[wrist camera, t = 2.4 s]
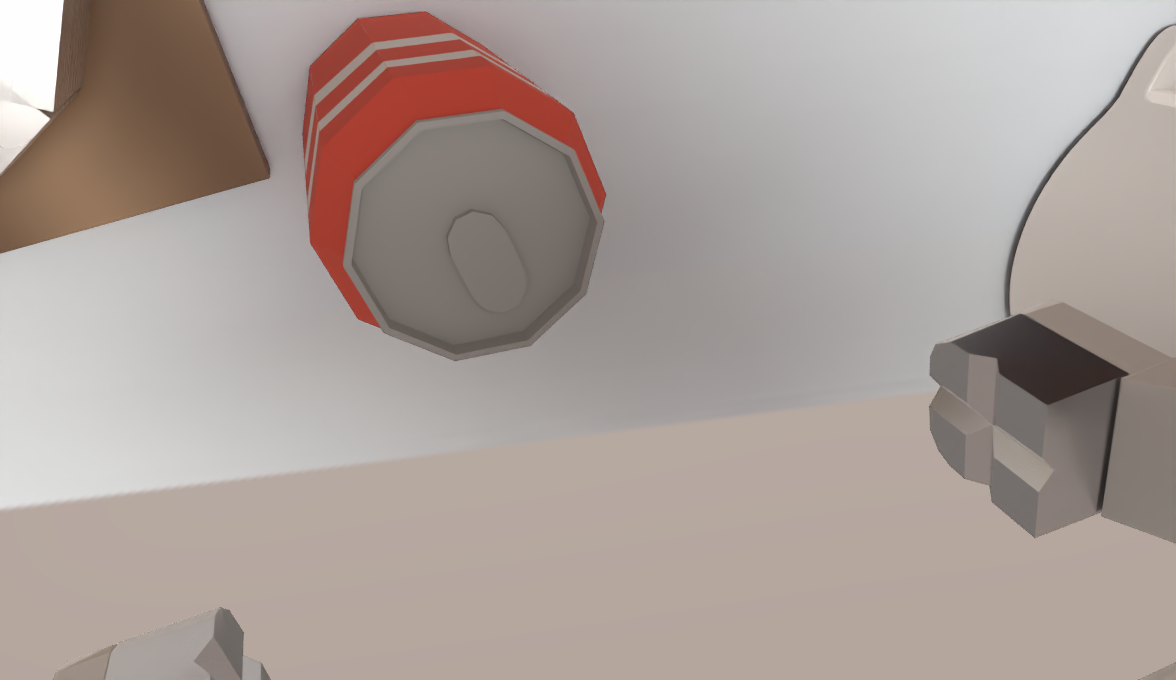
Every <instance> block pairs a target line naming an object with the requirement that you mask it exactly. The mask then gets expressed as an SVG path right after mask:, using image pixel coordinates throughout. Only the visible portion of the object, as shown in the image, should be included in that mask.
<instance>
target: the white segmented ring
mask: <svg viewBox="0 0 1176 680" xmlns="http://www.w3.org/2000/svg"><path fill="white" fill-rule="evenodd" d="M90 8H91V0H0V176H2V175H3V174H4V173H5V172H6V171H7V170H8V169H9V168H10V167H11V166H12V165H13V164H14V163H15V162H16V161H17V160H18V159H19V158H20V157H21V156H22V155H23V153H24V152H25V151H26V150H27V149H28V148H29V147H30V146H31V145H32V143H33V142H34V141H35V140H36V139H37V138H38V137H39V136H40V135H41V134H42V132H43V131H44V130H45V129H46V128H47V127H48V126H49V125H50V124H51V122H52V121H53V120H54V119H55V118H56V117H57V116H58V115H59V114H60V113H61V111H62V110H63V109H64V108H65V107H66V106H67V105H68V104H69V103H70V101H71V100H72V99H73V98H74V97H75V96H76V95H77V94H78V93H79V92H80V90H79V88H80V87H81V86H82V85H83V78H84V68H85V58H86V48H87V38H88V28H89V18H90Z"/></svg>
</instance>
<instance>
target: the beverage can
mask: <svg viewBox="0 0 1176 680" xmlns="http://www.w3.org/2000/svg"><path fill="white" fill-rule="evenodd" d="M302 134H303V148H304V162H305V176H306V190H307V204H308V218H309V232H310V243H311V245H312V247H313V248H314V250H315V251H316V253H317V255H318V256H319V258H320V259H321V261H322V263H323V264H324V266H325V267H326V269H327V271H328V272H329V274H330V275H331V277H332V278H333V280H334V282H335V283H336V285H337V286H338V288H339V290H340V291H341V293H342V294H343V296H344V298H345V299H346V301H347V302H348V304H349V306H350V307H351V309H352V310H353V312H354V314H355V315H356V317H357V318H358V319H359V320H361V321H364V322H366V323H369V324H371V325H374V326H377V327H379V328H381V329H382V330H383V332H384V333H385V334H388V335H390V336H393V337H396V338H398V339H401V340H403V341H406V342H408V343H411V344H413V345H416V346H418V347H421V348H423V349H426V350H428V351H431V352H434V353H436V354H439V355H441V356H444V357H446V358H449V359H451V360H454V361H458V360H463V359H468V358H473V357H478V356H483V355H488V354H492V353H497V352H502V351H507V350H512V349H517V348H522V347H527V346H531V345H532V344H533V343H534V342H535V341H536V340H537V339H538V338H539V337H540V336H541V335H543V334H544V333H545V332H546V331H547V330H548V329H549V328H550V327H551V326H552V325H553V324H554V323H555V322H557V321H558V320H559V319H560V318H561V317H562V316H563V315H564V314H565V313H566V312H567V311H568V310H569V309H571V308H572V307H573V306H574V305H575V304H576V303H577V302H578V301H579V300H580V299H581V298H582V297H583V296H584V295H586V292H587V288H588V284H589V280H590V276H591V272H592V268H593V264H594V260H595V256H596V252H597V248H598V244H599V241H600V237H601V233H602V229H603V225H604V220H603V217H602V215H601V213H602V209H603V205H604V201H605V197H606V193H605V190H604V188H603V185H602V183H601V180H600V178H599V175H598V173H597V170H596V168H595V165H594V163H593V160H592V158H591V155H590V153H589V150H588V148H587V145H586V143H585V140H584V138H583V135H582V133H581V130H580V128H579V125H578V123H577V120H576V118H575V115H574V113H573V112H571V111H570V110H569V109H567V108H566V107H565V106H563V105H562V104H561V103H559V102H558V101H557V100H555V99H554V98H553V97H551V96H550V95H549V94H547V93H546V92H545V91H543V90H542V89H541V88H539V87H538V86H536V85H535V84H534V83H532V82H531V81H530V80H528V79H527V78H526V77H524V76H523V75H522V74H520V73H519V72H518V71H516V70H515V69H514V68H512V67H511V66H510V65H508V64H507V63H506V62H504V61H503V60H502V59H500V58H499V57H498V56H496V55H495V54H493V53H492V52H491V51H489V50H488V49H487V48H485V47H484V46H483V45H481V44H479V43H477V42H476V41H474V40H472V39H471V38H469V37H467V36H466V35H464V34H462V33H461V32H459V31H457V30H456V29H454V28H452V27H451V26H449V25H447V24H446V23H444V22H442V21H441V20H439V19H437V18H436V17H434V16H432V15H431V14H429V13H427V12H417V13H408V14H399V15H389V16H380V17H371V18H361V19H357V20H356V21H355V22H354V23H353V24H352V25H351V26H350V27H349V28H348V29H347V30H346V31H345V32H344V33H343V34H342V35H341V36H340V37H339V38H338V39H337V40H336V41H335V42H334V43H333V44H332V45H331V46H330V47H329V48H328V49H327V50H326V51H325V52H324V53H323V54H322V55H321V56H320V57H319V58H318V59H317V60H316V61H315V62H314V63H313V64H312V65H311V66H310V69H309V79H308V88H307V97H306V106H305V115H304V124H303V133H302Z"/></svg>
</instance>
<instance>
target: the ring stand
mask: <svg viewBox="0 0 1176 680" xmlns="http://www.w3.org/2000/svg"><path fill="white" fill-rule="evenodd" d="M79 90H80V92H79V93H78V94H77V95H76V96H75V97H74V98H73V99H72V100H71V101H70V103H69V104H68V105H67V106H66V107H65V108H64V109H63V110H62V111H61V113H60V114H59V115H58V116H57V117H56V118H55V119H54V120H53V121H52V122H51V124H50V125H49V126H48V127H47V128H46V129H45V130H44V131H43V132H42V134H41V135H40V136H39V137H38V138H37V139H36V140H35V141H34V142H33V143H32V145H31V146H30V147H29V148H28V149H27V150H26V151H25V152H24V153H23V155H22V156H21V157H20V158H19V159H18V160H17V161H16V162H15V163H14V164H13V165H12V166H11V167H10V168H9V169H8V170H7V171H6V172H5V173H4V174H3V175H2V176H0V253H4V252H7V251H11V250H15V249H18V248H22V247H25V246H29V245H32V244H36V243H40V242H43V241H47V240H50V239H54V238H57V237H61V236H65V235H68V234H72V233H75V232H79V231H82V230H86V229H90V228H93V227H97V226H100V225H104V224H107V223H111V222H115V221H118V220H122V219H125V218H129V217H132V216H136V215H140V214H143V213H147V212H150V211H154V210H157V209H161V208H165V207H168V206H172V205H175V204H179V203H182V202H186V201H189V200H193V199H197V198H200V197H204V196H207V195H211V194H214V193H218V192H222V191H225V190H229V189H232V188H236V187H239V186H243V185H247V184H250V183H254V182H257V181H261V180H264V179H268V178H269V177H270V168H269V165H268V163H267V160H266V158H265V155H264V153H263V150H262V148H261V145H260V143H259V140H258V138H257V135H256V133H255V130H254V128H253V125H252V123H251V120H250V118H249V115H248V113H247V110H246V108H245V105H244V102H243V100H242V97H241V95H240V92H239V90H238V87H237V85H236V82H235V80H234V77H233V75H232V72H231V70H230V67H229V65H228V62H227V60H226V57H225V55H224V52H223V50H222V47H221V45H220V42H219V39H218V37H217V34H216V32H215V29H214V27H213V24H212V22H211V19H210V17H209V14H208V12H207V9H206V7H205V4H204V2H203V0H91V8H90V18H89V28H88V38H87V48H86V58H85V68H84V78H83V85H82V86H81V87H80V88H79Z"/></svg>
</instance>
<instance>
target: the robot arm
mask: <svg viewBox="0 0 1176 680" xmlns="http://www.w3.org/2000/svg"><path fill="white" fill-rule="evenodd" d="M1010 313H1011V315H1010V316H1009V317H1008V318H1004V319H1002V320H999V321H996V322H994V323H991V324H988V325H986V326H983V327H980V328H978V329H975V330H972V331H970V332H967V333H964V334H962V335H959V336H956V337H954V338H951V339H948V340H946V341H943V342H940V343H938V344H936V345H935V347H934V349H933V351H932V354H931V356H930V376H931V377H932V378H933V379H934V380H935V381H936V382H937V383H938V384H939V385H940V386H941V387H940V389H939V390H938V392H937V394H936V396H935V398H934V399H933V401H932V403H931V405H930V406H929V410H930V430H931V433H932V435H933V438H934V440H935V443H936V445H937V448H938V450H939V452H940V453H941V455H942V456H943V457H944V459H945V460H946V461H947V463H948V464H949V465H950V466H951V467H952V468H953V469H954V470H955V471H956V472H957V473H959V474H960V475H961V476H962V477H963V478H964V479H967V480H971V481H975V482H979V483H982V484H986V485H989V486H990V493H991V500H992V503H994V504H995V505H996V506H997V507H998V508H1000V509H1001V510H1002V511H1003V512H1004V513H1006V514H1007V515H1008V516H1009V517H1011V519H1013V520H1014V521H1015V522H1016V523H1017V524H1019V525H1020V526H1021V527H1022V528H1023V529H1025V530H1026V531H1027V532H1028V533H1029V534H1031V535H1032V536H1033V537H1034V538H1036V537H1039V536H1041V535H1044V534H1047V533H1049V532H1052V531H1054V530H1057V529H1059V528H1062V527H1064V526H1067V525H1069V524H1072V523H1075V522H1077V521H1080V520H1082V519H1085V518H1088V517H1090V516H1093V515H1095V514H1098V513H1100V512H1102V514H1101V516H1102V517H1105V518H1108V519H1111V520H1113V521H1116V522H1119V523H1121V524H1124V525H1127V526H1129V527H1132V528H1135V529H1138V530H1140V531H1143V532H1146V533H1149V534H1151V535H1154V536H1157V537H1160V538H1163V539H1165V540H1168V541H1171V542H1173V543H1176V25H1173V26H1171V27H1169V28H1167V29H1165V30H1164V31H1162V32H1161V33H1160V34H1159V35H1158V36H1157V37H1156V38H1155V39H1154V41H1153V42H1152V43H1151V44H1150V46H1149V47H1148V49H1147V50H1146V51H1145V53H1144V55H1143V56H1142V58H1141V59H1140V61H1139V63H1138V64H1137V66H1136V68H1135V70H1134V71H1133V73H1132V75H1131V77H1130V78H1129V80H1128V82H1127V84H1126V86H1125V87H1124V89H1123V91H1122V93H1121V95H1120V97H1119V98H1118V99H1117V101H1116V102H1115V103H1114V104H1113V106H1112V107H1111V108H1110V109H1109V110H1108V111H1107V113H1106V114H1105V115H1104V116H1103V117H1102V118H1101V119H1100V120H1099V121H1098V122H1097V123H1096V124H1095V125H1094V126H1093V127H1092V128H1091V129H1090V130H1089V131H1088V132H1087V133H1086V134H1085V135H1084V136H1083V137H1082V138H1081V139H1080V141H1079V142H1078V143H1077V144H1076V145H1075V146H1074V147H1073V148H1072V150H1071V151H1070V152H1069V153H1068V154H1067V156H1066V157H1065V158H1064V159H1063V161H1062V162H1061V163H1060V165H1059V166H1058V167H1057V169H1056V170H1055V172H1054V173H1053V175H1052V176H1051V178H1050V179H1049V181H1048V182H1047V184H1046V185H1045V187H1044V189H1043V190H1042V192H1041V194H1040V196H1039V197H1038V199H1037V201H1036V203H1035V205H1034V207H1033V209H1032V211H1031V213H1030V215H1029V217H1028V220H1027V222H1026V224H1025V227H1024V229H1023V232H1022V235H1021V238H1020V241H1019V244H1018V247H1017V251H1016V254H1015V258H1014V263H1013V267H1012V274H1011V281H1010ZM243 637H244V632H243V631H242V629H241V627H240V626H239V624H238V623H237V621H236V620H235V618H234V617H233V615H232V613H231V612H230V610H227V609H224V608H221V607H220V608H217V609H214V610H211V611H208V612H206V613H203V614H200V615H197V616H194V617H191V618H188V619H185V620H182V621H179V622H176V623H173V624H170V625H168V626H165V627H162V628H159V629H156V630H153V631H150V632H147V633H144V634H142V635H139V636H136V637H133V638H130V639H127V640H124V641H121V642H119V643H118V644H116V645H112V646H109V647H106V648H104V649H100V650H97V651H95V652H92V653H89V654H86V655H83V656H80V657H78V658H75V659H72V660H69V661H66V662H65V663H64V664H63V665H62V666H61V668H60V669H59V670H58V671H57V672H56V673H55V675H54V678H53V680H271V679H270V677H269V675H268V674H267V672H266V670H265V668H264V667H263V665H262V663H261V662H260V661H257V660H254V659H252V658H249V657H246V656H244V655H243V639H244V638H243ZM1139 680H1176V662H1175V663H1173V664H1171V665H1169V666H1167V667H1165V668H1163V669H1160V670H1158V671H1156V672H1154V673H1152V674H1150V675H1148V676H1145V677H1143V678H1141V679H1139Z"/></svg>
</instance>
